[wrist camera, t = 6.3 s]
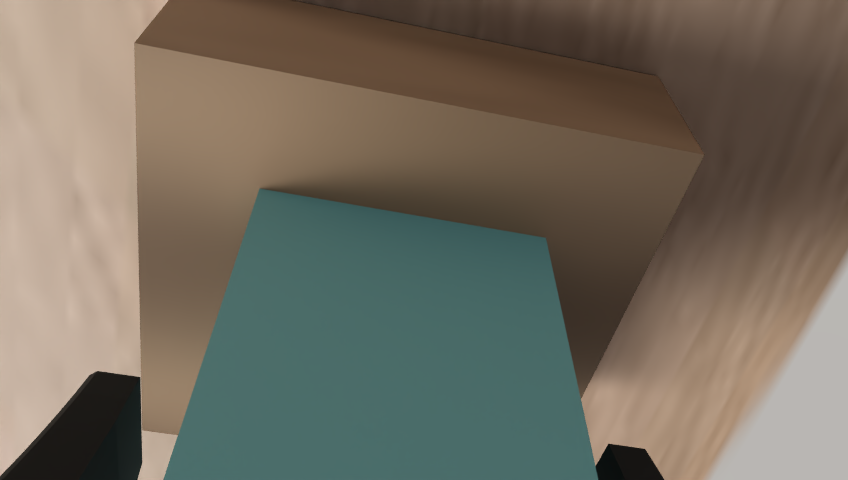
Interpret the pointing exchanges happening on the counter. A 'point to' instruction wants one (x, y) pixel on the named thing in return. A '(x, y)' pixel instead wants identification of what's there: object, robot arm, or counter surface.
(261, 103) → the walnut plinth
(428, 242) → the teal block
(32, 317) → the counter surface
